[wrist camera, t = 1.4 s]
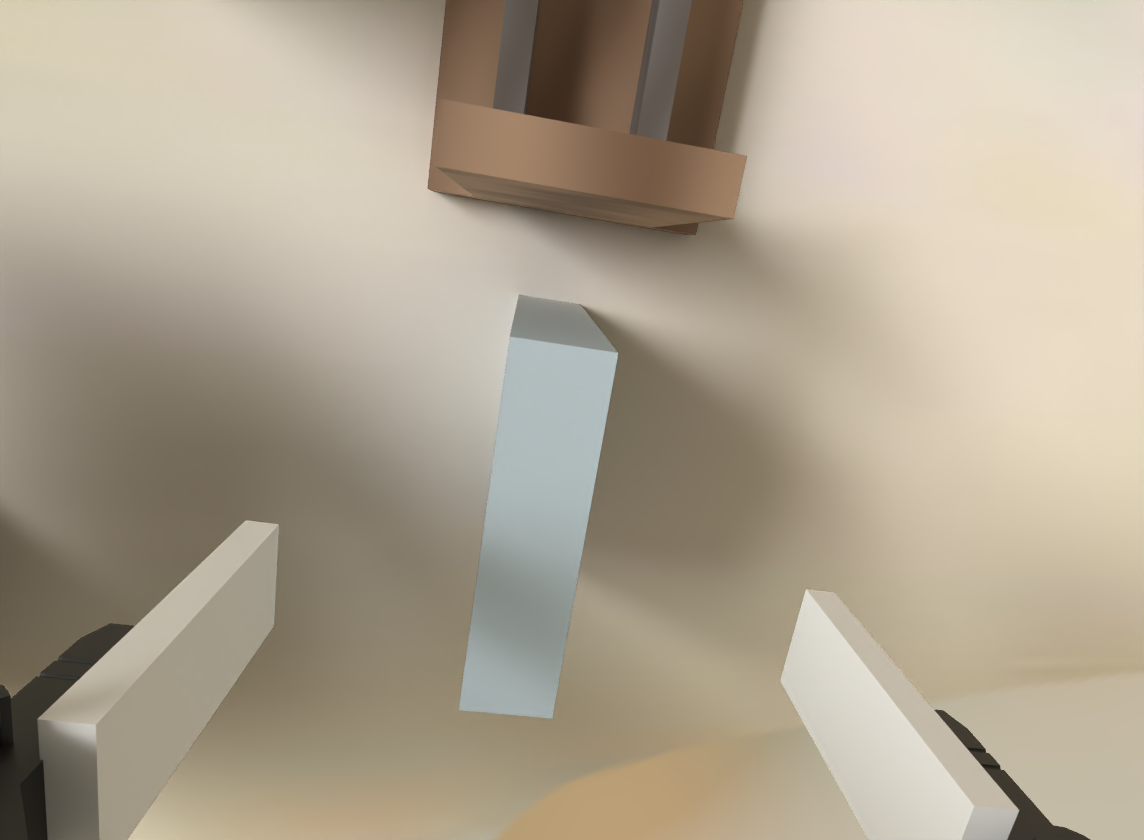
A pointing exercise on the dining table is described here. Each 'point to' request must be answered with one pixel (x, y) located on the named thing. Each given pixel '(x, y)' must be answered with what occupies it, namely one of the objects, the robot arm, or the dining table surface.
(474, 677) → the door panel
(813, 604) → the robot arm
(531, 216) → the dining table surface
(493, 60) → the track frame
